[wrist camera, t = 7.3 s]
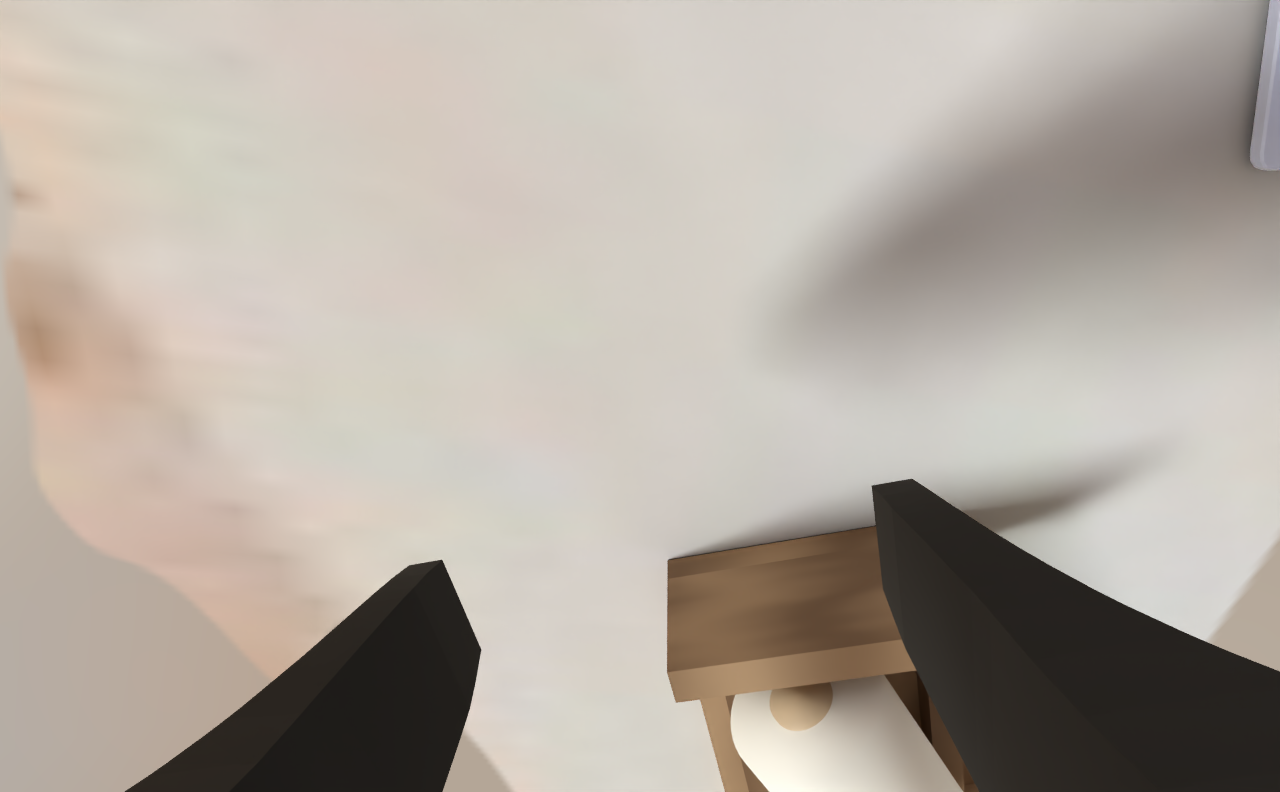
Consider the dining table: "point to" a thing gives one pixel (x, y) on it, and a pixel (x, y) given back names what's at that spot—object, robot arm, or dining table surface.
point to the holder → (788, 635)
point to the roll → (836, 740)
